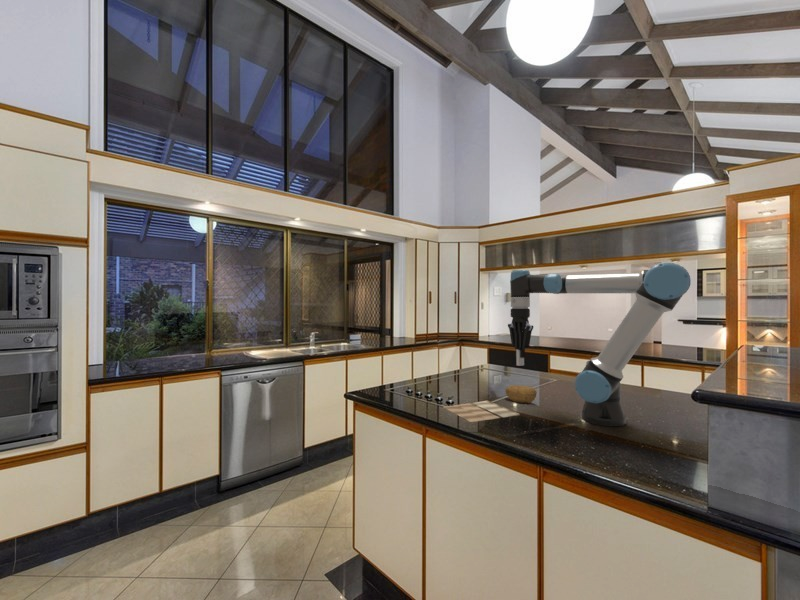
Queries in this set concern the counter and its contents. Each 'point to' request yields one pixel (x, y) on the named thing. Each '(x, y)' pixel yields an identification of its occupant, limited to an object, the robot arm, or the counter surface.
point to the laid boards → (471, 412)
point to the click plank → (496, 409)
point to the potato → (521, 393)
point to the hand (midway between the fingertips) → (520, 365)
